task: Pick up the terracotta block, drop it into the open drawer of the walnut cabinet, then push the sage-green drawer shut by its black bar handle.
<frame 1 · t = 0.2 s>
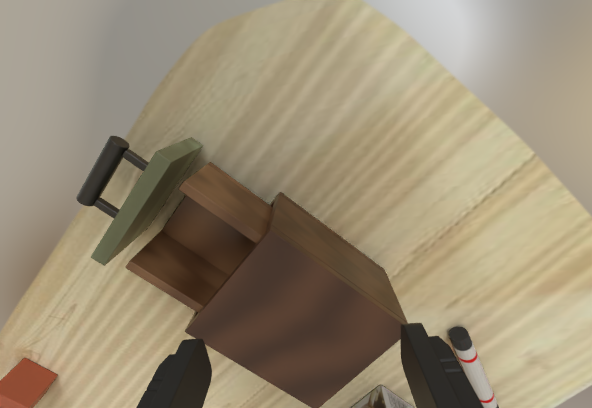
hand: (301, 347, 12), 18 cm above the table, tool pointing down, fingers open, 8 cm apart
drawer: (189, 223, 26), point 4 cm above the table, slide at 8.0 cm
marker: (473, 372, 36), on the table
block: (35, 376, 39), on the table
cabinet: (298, 271, 32), on the table
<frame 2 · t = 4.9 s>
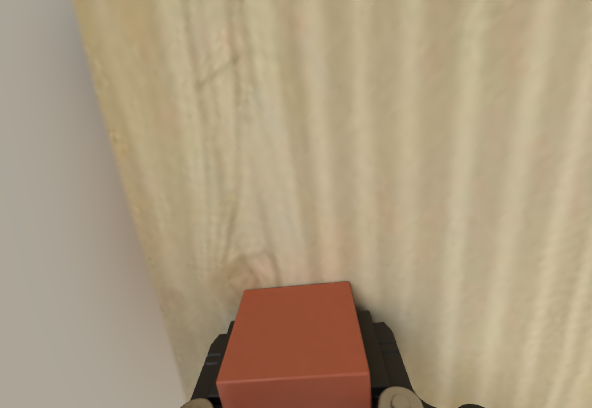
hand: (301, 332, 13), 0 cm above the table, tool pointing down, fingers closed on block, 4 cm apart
block: (302, 327, 13), on the table, touching gripper
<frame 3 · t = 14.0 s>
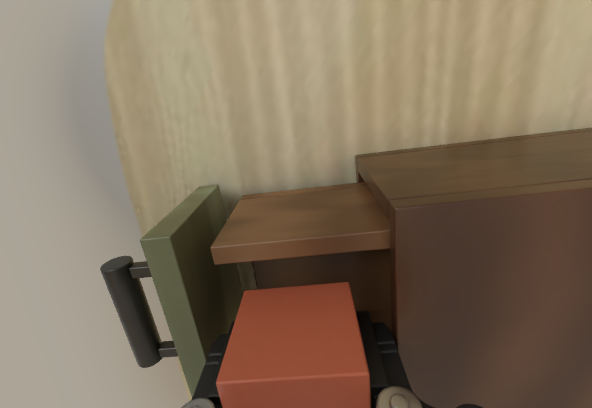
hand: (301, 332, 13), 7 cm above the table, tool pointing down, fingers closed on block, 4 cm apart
drawer: (279, 290, 16), point 4 cm above the table, slide at 8.0 cm
block: (302, 327, 13), point 7 cm above the table, touching gripper
cabinet: (469, 233, 19), on the table
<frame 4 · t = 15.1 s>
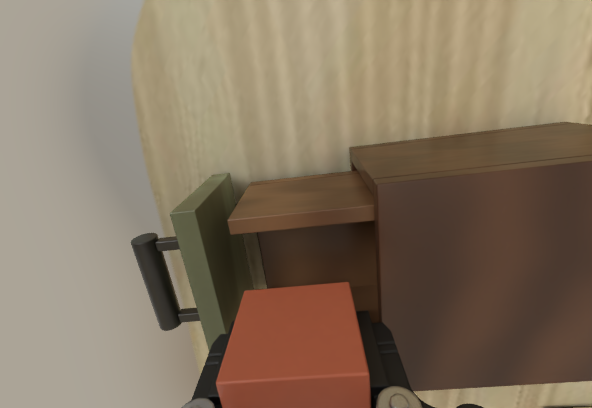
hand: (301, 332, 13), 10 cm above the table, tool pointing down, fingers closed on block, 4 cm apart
drawer: (283, 263, 19), point 4 cm above the table, slide at 8.0 cm
block: (302, 327, 13), point 10 cm above the table, touching gripper
cabinet: (450, 217, 22), on the table
when the fingers open (10 cm above the table, at t = 25.6 s): block drops 8 cm, resting on drawer.
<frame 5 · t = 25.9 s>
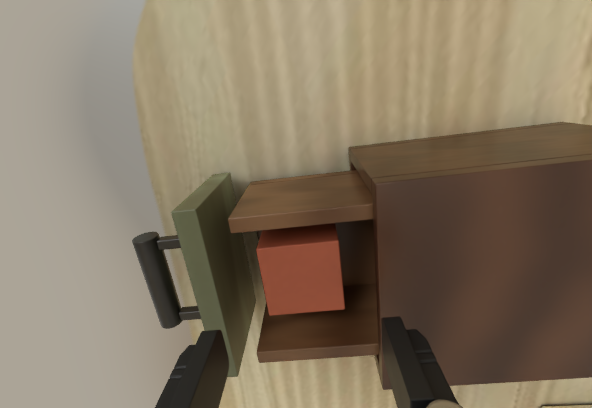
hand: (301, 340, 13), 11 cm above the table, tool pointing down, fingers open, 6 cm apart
drawer: (283, 262, 19), point 4 cm above the table, slide at 8.0 cm, touching block
block: (303, 243, 21), point 2 cm above the table, touching drawer
cabinet: (448, 216, 22), on the table
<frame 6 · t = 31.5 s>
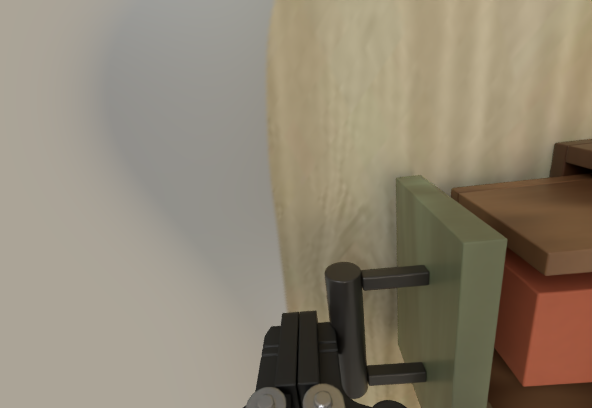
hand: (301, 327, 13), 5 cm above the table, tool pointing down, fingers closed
drawer: (520, 304, 13), point 4 cm above the table, slide at 6.7 cm, touching block, gripper
block: (515, 271, 15), point 2 cm above the table, touching drawer
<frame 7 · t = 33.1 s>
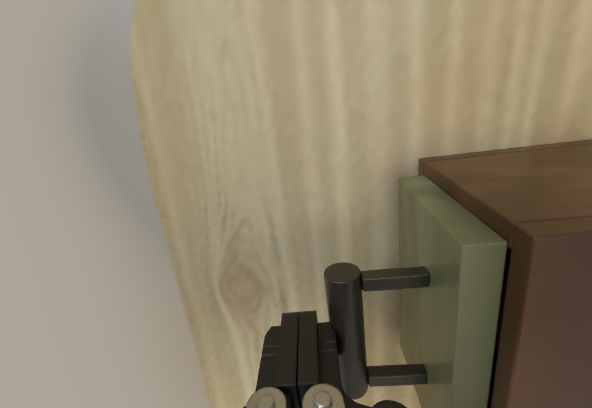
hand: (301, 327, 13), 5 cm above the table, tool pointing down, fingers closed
drawer: (525, 307, 13), point 4 cm above the table, slide at 0.0 cm, touching block, gripper
block: (521, 273, 15), point 2 cm above the table, touching drawer
cabinet: (546, 249, 17), on the table
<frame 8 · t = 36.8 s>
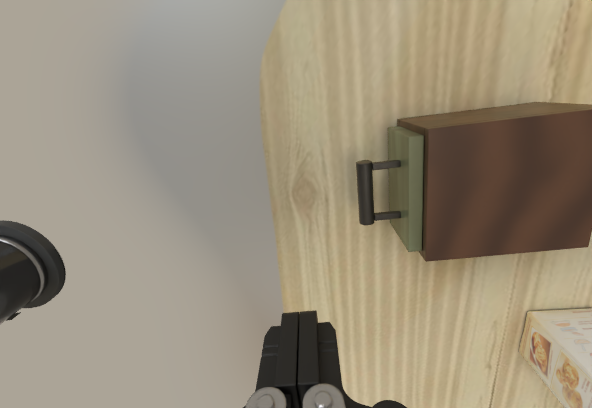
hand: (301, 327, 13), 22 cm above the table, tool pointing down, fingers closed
drawer: (443, 181, 29), point 4 cm above the table, slide at 0.0 cm, touching block
coffeecake box: (580, 327, 40), on the table
cabinet: (462, 166, 33), on the table
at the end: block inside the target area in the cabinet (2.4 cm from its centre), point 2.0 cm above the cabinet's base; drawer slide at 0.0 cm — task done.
